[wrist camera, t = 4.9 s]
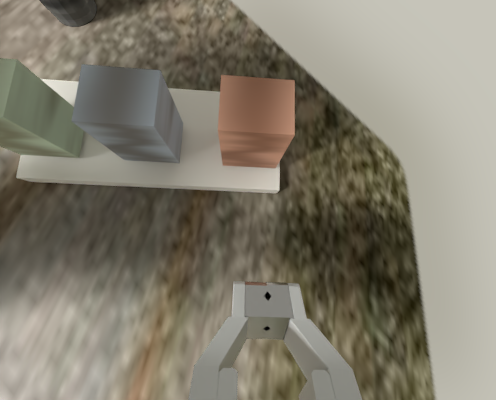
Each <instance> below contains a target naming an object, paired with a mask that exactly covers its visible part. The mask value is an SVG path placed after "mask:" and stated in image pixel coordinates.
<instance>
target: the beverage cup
mask: <svg viewBox="0 0 496 400" xmlns="http://www.w3.org/2000/svg"><path fill="white" fill-rule="evenodd" d="M40 1H41V3H42V4H43V5H44V6H45V7H46V8H47V9H48V10H50V11H51V13H52V14H53V15H54V16H56V18H57V19H58V20H59V21H60V22H61V23H63V24H65V25H67V26H71V27H74V26H82V25H85V24H87V23H88V22H90V21H91V20H92V19H93V18H94V16H95V14H96V10H97V6H96V4H95V1H94V0H40Z"/></svg>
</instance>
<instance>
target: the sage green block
mask: <svg viewBox="0 0 496 400" xmlns="http://www.w3.org/2000/svg"><path fill="white" fill-rule="evenodd" d="M73 110H74V107H73V106H72V105H71V104H70V103H68V102H67V101H66V100H65V99H64V98H62V97H61V96H60V95H59V94H58V93H56V92H55V91H54V90H53V89H52V88H50V87H49V86H48V85H47V84H46V83H44V82H43V81H42V80H41V79H40V78H38V77H37V76H36V75H35V74H34V73H32V72H31V71H30V70H29V69H28V68H27V67H25V66H24V65H23V64H22V63H21V62H19V61H18V60H16V59H3V58H0V146H1V147H3V148H6V149H8V150H11V151H13V152H16V153H18V154H20V155H34V156H53V157H72V158H79V156H80V150H81V144H82V139H83V133H84V130H83V129H81V128H80V127H78V126H77V125H76V124H74V123H73V122H72V115H73Z"/></svg>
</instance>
